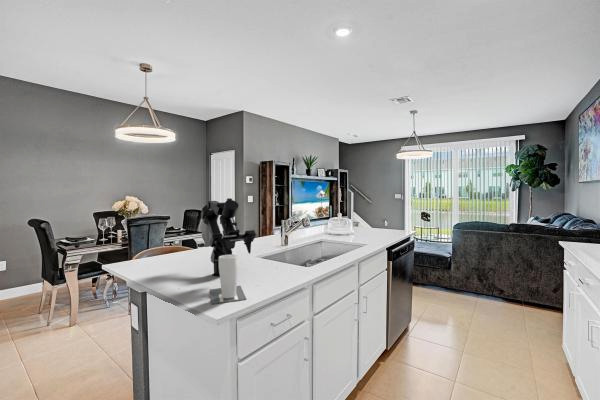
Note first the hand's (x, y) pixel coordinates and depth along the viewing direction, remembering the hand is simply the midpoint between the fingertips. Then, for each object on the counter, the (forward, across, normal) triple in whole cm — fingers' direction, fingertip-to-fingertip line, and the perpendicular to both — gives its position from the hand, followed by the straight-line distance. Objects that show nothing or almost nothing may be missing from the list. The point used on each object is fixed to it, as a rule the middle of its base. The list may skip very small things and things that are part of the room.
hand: (239, 254), depth 119 cm
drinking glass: (+15, +8, -4) cm, 17 cm away
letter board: (+13, +7, -6) cm, 16 cm away
